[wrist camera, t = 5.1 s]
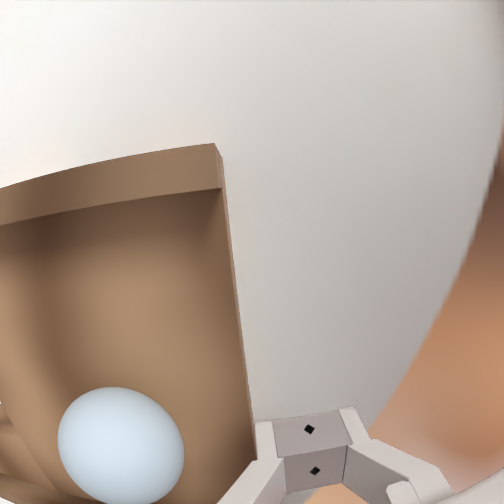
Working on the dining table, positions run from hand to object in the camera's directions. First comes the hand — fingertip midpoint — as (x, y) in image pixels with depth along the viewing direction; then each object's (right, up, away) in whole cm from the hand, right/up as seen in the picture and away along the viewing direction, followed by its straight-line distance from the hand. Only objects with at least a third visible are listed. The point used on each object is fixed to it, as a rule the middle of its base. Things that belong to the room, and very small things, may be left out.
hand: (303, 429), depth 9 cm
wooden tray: (-12, 0, +3) cm, 12 cm away
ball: (-6, 0, +1) cm, 6 cm away
